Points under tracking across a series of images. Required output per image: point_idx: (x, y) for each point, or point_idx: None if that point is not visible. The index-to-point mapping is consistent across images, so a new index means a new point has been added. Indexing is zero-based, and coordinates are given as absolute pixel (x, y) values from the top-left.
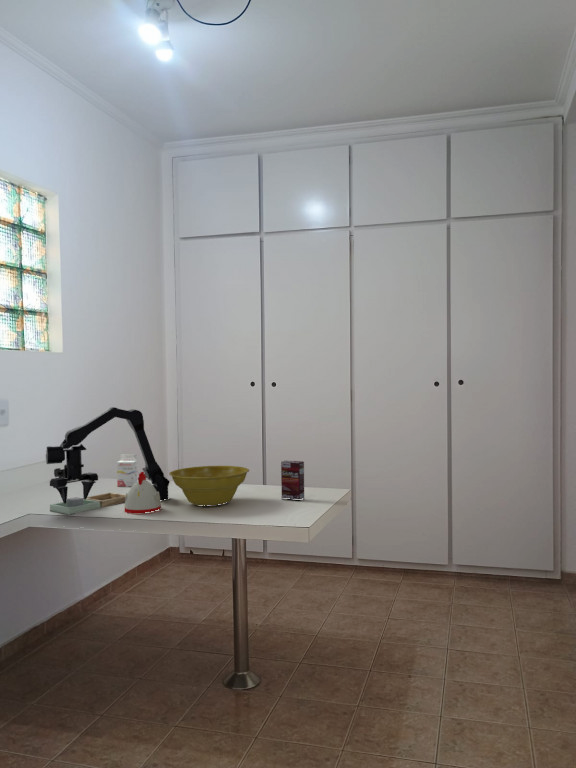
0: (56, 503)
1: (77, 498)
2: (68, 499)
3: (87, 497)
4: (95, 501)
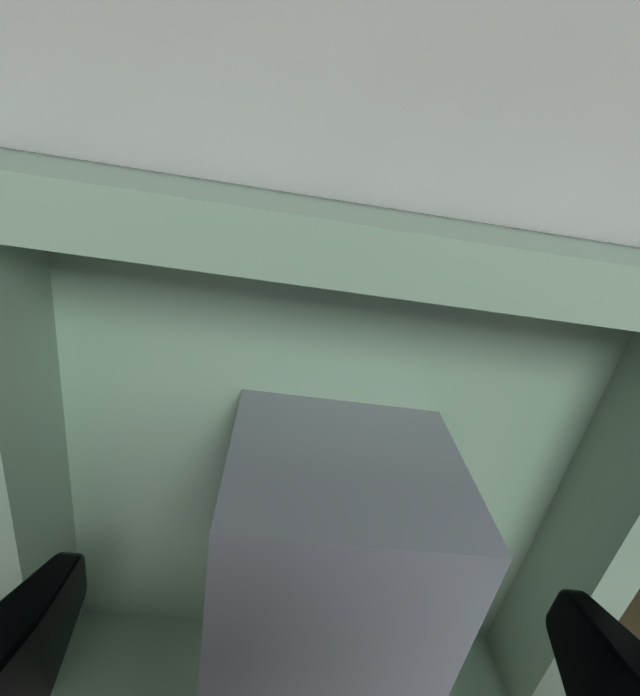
0: (77, 226)
1: (369, 669)
2: (206, 582)
3: None
4: (552, 692)
